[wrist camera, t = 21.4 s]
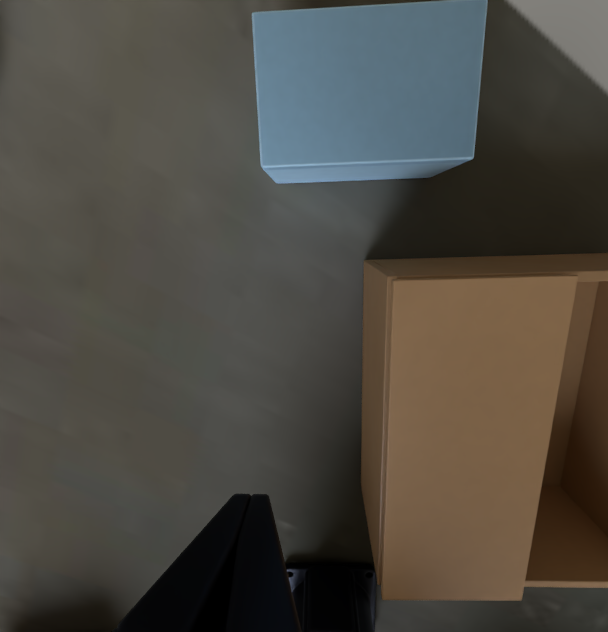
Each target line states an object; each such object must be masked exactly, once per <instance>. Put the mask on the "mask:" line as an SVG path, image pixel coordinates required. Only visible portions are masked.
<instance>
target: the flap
mask: <svg viewBox="0 0 608 632" xmlns="http://www.w3.org/2000/svg"><path fill="white" fill-rule="evenodd" d="M577 281H578V275H573V274H566V275H530V276H494V277H458V278H422V279H392V290H391V319H390V348H389V378H388V407H387V436H386V466H385V495H384V524H383V554H382V583H381V596H382V600H501V601H521V600H522V596H523V590H524V584H525V579H526V573H527V567H528V562H529V556H530V550H531V544H532V539H533V533H534V527H535V521H536V516H537V510H538V504H539V498H540V493H541V487H542V481H543V476H544V470H545V464H546V458H547V453H548V447H549V441H550V435H551V430H552V424H553V418H554V412H555V407H556V401H557V395H558V389H559V384H560V378H561V372H562V367H563V361H564V355H565V349H566V344H567V338H568V332H569V326H570V321H571V315H572V309H573V303H574V298H575V292H576V286H577Z"/></svg>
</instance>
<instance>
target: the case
mask: <svg viewBox="0 0 608 632" xmlns="http://www.w3.org/2000/svg"><path fill="white" fill-rule="evenodd" d="M487 4H488V0H443V1H426V2H410V3H393V4H377V5H361V6H344V7H328V8H312V9H295V10H279V11H262V12H253V13H252V27H253V44H254V61H255V78H256V94H257V111H258V128H259V144H260V161H261V167H262V169H263V170H264V171H265V172H266V173H267V174H268V175H269V176H270V177H271V178H272V179H273V180H274V181H275V182H276V183H277V184H280V183H306V182H331V181H357V180H383V179H409V178H430V177H432V176H435V175H437V174H439V173H442V172H444V171H446V170H449V169H451V168H453V167H455V166H458V165H460V164H462V163H465V162H467V161H469V160H472V159H473V158H474V151H475V139H476V128H477V117H478V105H479V94H480V83H481V72H482V60H483V49H484V38H485V26H486V15H487Z"/></svg>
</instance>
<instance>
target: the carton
mask: <svg viewBox="0 0 608 632" xmlns="http://www.w3.org/2000/svg"><path fill="white" fill-rule="evenodd" d="M566 274H573V275H578V281H577V286H576V292H575V298H574V303H573V309H572V315H571V321H570V326H569V332H568V338H567V344H566V349H565V355H564V361H563V367H562V372H561V378H560V384H559V389H558V395H557V401H556V407H555V412H554V418H553V424H552V430H551V435H550V441H549V447H548V453H547V458H546V464H545V470H544V476H543V481H542V487H541V493H540V498H539V504H538V510H537V516H536V521H535V527H534V533H533V539H532V544H531V550H530V556H529V562H528V567H527V573H526V579H525V584H524V587H581V588H608V253H588V254H553V255H518V256H483V257H449V258H414V259H379V260H364V287H363V365H362V444H361V489H362V495H363V501H364V507H365V512H366V518H367V524H368V530H369V536H370V542H371V548H372V553H373V559H374V565H375V571H376V577H377V583H378V585H381V583H382V554H383V524H384V495H385V466H386V436H387V407H388V378H389V348H390V319H391V290H392V279H422V278H458V277H494V276H530V275H566Z"/></svg>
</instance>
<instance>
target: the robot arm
mask: <svg viewBox="0 0 608 632" xmlns="http://www.w3.org/2000/svg"><path fill="white" fill-rule="evenodd" d="M375 598H376V572H375V567H374V566H373V565H370V564H306V563H289V564H286V565H285V561H284V557H283V553H282V549H281V545H280V541H279V536H278V532H277V528H276V524H275V520H274V516H273V512H272V508H271V503H270V499H269V496H268V495H267V494H253V495H252V496H251V495H250V494H234V495H233V496H232V497H231V498H230V499H229V500H228V502H227V503H226V504H225V505H224V506H223V507H222V508H221V509H220V511H219V512H218V513H217V514H216V515H215V516H214V517H213V518H212V519H211V521H210V522H209V523H208V524H207V525H206V526H205V527H204V528H203V530H202V531H201V532H200V533H199V534H198V535H197V536H196V537H195V539H194V540H193V541H192V542H191V543H190V544H189V545H188V546H187V548H186V549H185V550H184V551H183V552H182V553H181V554H180V555H179V557H178V558H177V559H176V560H175V561H174V562H173V563H172V564H171V566H170V567H169V568H168V569H167V570H166V571H165V572H164V573H163V575H162V576H161V577H160V578H159V579H158V580H157V581H156V582H155V584H154V585H153V586H152V587H151V588H150V589H149V590H148V591H147V593H146V594H145V595H144V596H143V597H142V598H141V599H140V600H139V602H138V603H137V604H136V605H135V606H134V607H133V608H132V609H131V611H130V612H129V613H128V614H127V615H126V616H125V617H124V618H123V620H122V621H121V622H120V623H119V624H118V629H116V628H115V629H113V631H112V632H375Z"/></svg>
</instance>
